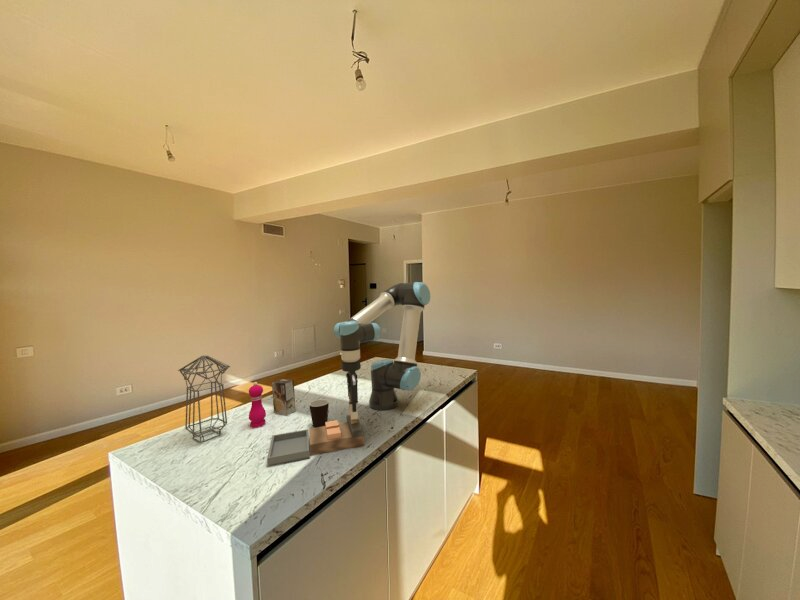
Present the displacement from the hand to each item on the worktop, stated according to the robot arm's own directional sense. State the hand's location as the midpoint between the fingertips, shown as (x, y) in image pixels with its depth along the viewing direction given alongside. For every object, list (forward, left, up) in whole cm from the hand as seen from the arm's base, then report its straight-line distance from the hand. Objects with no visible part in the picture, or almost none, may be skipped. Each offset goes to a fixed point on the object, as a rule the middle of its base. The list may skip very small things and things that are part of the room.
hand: (353, 417), depth 124 cm
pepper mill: (+40, -30, -9) cm, 51 cm away
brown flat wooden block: (+8, 0, -9) cm, 11 cm away
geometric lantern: (+59, -27, -9) cm, 66 cm away
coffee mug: (+12, -20, -9) cm, 25 cm away
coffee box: (+29, -41, -9) cm, 51 cm away
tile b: (+9, +4, -5) cm, 10 cm away
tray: (+25, 0, -9) cm, 26 cm away
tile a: (+9, -3, -5) cm, 10 cm away
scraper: (0, 0, -5) cm, 5 cm away
